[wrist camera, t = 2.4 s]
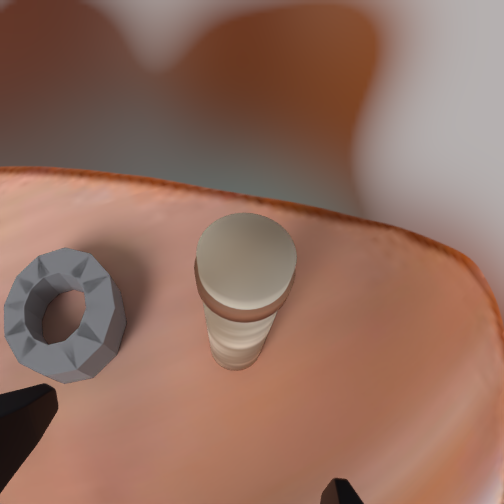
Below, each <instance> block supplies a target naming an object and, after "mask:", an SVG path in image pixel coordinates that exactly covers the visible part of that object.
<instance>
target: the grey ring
mask: <svg viewBox="0 0 504 504" xmlns="http://www.w3.org/2000/svg"><path fill="white" fill-rule="evenodd" d="M71 290H77V291H80V292H84V295H85V303H86V309H85V312H84V315H83V318H82V320H81V323H80V326H79V328H78V329H77V330H76V331H75V332H74V333H73V334H72V335H71V336H69V337H68V338H67V339H66V340H65V341H63V342H58V343H54V344H50V345H48V344H47V342H46V341H45V339H44V338H43V331H42V318H43V316H44V313H45V310H46V308H47V305H48V304H49V303H50V302H51V301H52V300H53V299H54V298H55V297H56V296H57V295H58V294H60V293H64V292H67V291H71ZM126 323H127V321H126V317H125V312H124V306H123V301H122V296H121V292H120V290H119V289H118V287H117V286H116V284H115V282H114V281H113V279H112V278H111V276H110V275H109V274H108V273H107V271H106V270H105V269H104V268H103V267H102V266H101V265H100V264H99V262H98V261H97V260H96V259H95V258H94V257H93V256H92V254H90V253H86V252H81V251H77V250H73V249H69V248H62V249H59V250H56V251H52V252H49V253H46V254H43V255H40V256H38V257H37V258H36V259H34V260H33V261H32V262H31V263H30V264H29V265H28V266H27V267H26V268H25V269H24V270H23V271H22V272H21V273H20V274H19V275H18V276H17V277H16V279H15V281H14V283H13V285H12V288H11V290H10V292H9V295H8V297H7V300H6V302H5V304H4V333H5V338H6V340H7V342H8V344H9V346H10V348H11V349H12V351H13V353H14V355H15V357H16V358H17V360H18V362H19V363H20V364H22V365H24V366H26V367H28V368H30V369H32V370H34V371H36V372H38V373H40V374H42V375H44V376H46V377H49V378H51V379H54V380H56V381H59V382H61V383H64V384H66V383H71V382H76V381H80V380H85V379H90V378H94V377H95V376H96V375H97V374H98V373H99V372H100V371H101V370H102V369H103V368H104V367H105V366H106V365H107V364H108V363H109V362H110V361H111V360H112V359H113V358H114V357H115V356H116V355H117V353H118V349H119V346H120V343H121V339H122V336H123V333H124V330H125V327H126Z"/></svg>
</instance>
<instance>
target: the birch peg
mask: <svg viewBox="0 0 504 504" xmlns="http://www.w3.org/2000/svg"><path fill="white" fill-rule="evenodd" d="M296 259H297V255H296V249H295V245H294V243H293V240H292V239H291V237H290V235H289V234H288V233H287V231H286V230H285V229H284V228H283V227H282V226H281V225H279V224H278V223H277V222H275V221H273V220H272V219H269V218H267V217H265V216H262V215H258V214H253V213H236V214H231V215H228V216H225V217H222V218H220V219H218V220H216V221H215V222H213V223H212V224H211V225H210V226H209V227H208V228H207V229H206V230H205V231H204V232H203V234H202V236H201V237H200V239H199V242H198V245H197V252H196V259H195V266H194V270H195V278H196V284H197V289H198V292H199V295H200V297H201V299H202V300H203V305H204V312H205V318H206V324H207V330H208V336H209V342H210V348H211V353H212V355H213V358H214V359H215V361H216V362H217V363H218V364H219V365H220V366H222V367H224V368H226V369H228V370H234V371H238V370H243V369H246V368H248V367H250V366H251V365H252V364H253V363H254V362H255V361H256V360H257V358H258V356H259V354H260V351H261V349H262V347H263V344H264V342H265V340H266V337H267V335H268V333H269V330H270V328H271V326H272V323H273V321H274V319H275V316H276V314H277V311H278V310H279V309H280V308H281V307H282V305H283V304H284V302H285V301H286V299H287V297H288V295H289V292H290V290H291V288H292V285H293V282H294V278H295V266H296Z"/></svg>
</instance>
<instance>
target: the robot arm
mask: <svg viewBox="0 0 504 504" xmlns="http://www.w3.org/2000/svg"><path fill="white" fill-rule="evenodd" d="M57 411H58V400H57V394H56V390H55V389H54V388H53V387H51V386H50V385H48V384H45V383H43V384H39V385H36V386H32V387H28V388H24V389H20V390H16V391H12V392H8V393H4V394H0V493H1V492H2V490H3V489H4V488H5V486H6V485H7V484H8V482H9V481H10V479H11V478H12V477H13V475H14V474H15V473H16V471H17V470H18V469H19V467H20V466H21V465H22V463H23V462H24V461H25V460H26V458H27V457H28V456H29V454H30V453H31V452H32V450H33V449H34V448H35V446H36V445H37V444H38V442H39V441H40V439H41V438H42V436H43V434H44V433H45V431H46V429H47V428H48V426H49V424H50V423H51V421H52V419H53V418H54V416H55V414H56V413H57ZM320 504H364V503H363V502H362V500H361V499H360V497H359V496H358V495H357V493H356V492H355V490H354V489H353V487H352V486H351V484H350V483H349V482H348V480H346V479H342V478H334V479H332V480H331V482H330V483H329V484H328V486H327V487H326V488H325V490H324V491H323V493H322V496H321V502H320Z"/></svg>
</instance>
